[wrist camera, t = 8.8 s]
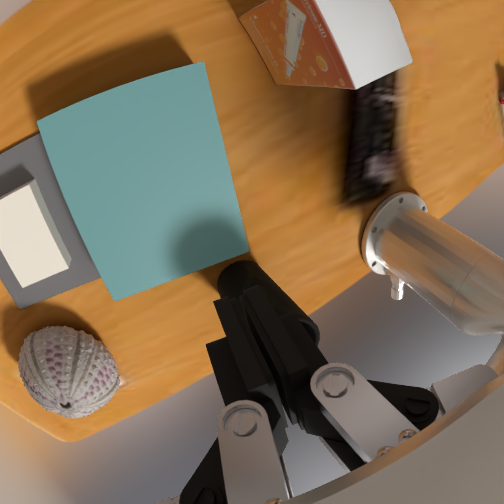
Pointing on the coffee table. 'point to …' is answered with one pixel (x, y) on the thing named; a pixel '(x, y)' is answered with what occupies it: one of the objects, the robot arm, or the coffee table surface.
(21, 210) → the off-white foam block
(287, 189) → the coffee table surface
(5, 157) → the mat
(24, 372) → the sea urchin shell
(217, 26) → the coffee table surface
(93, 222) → the plate
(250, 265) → the cup
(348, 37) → the small box
